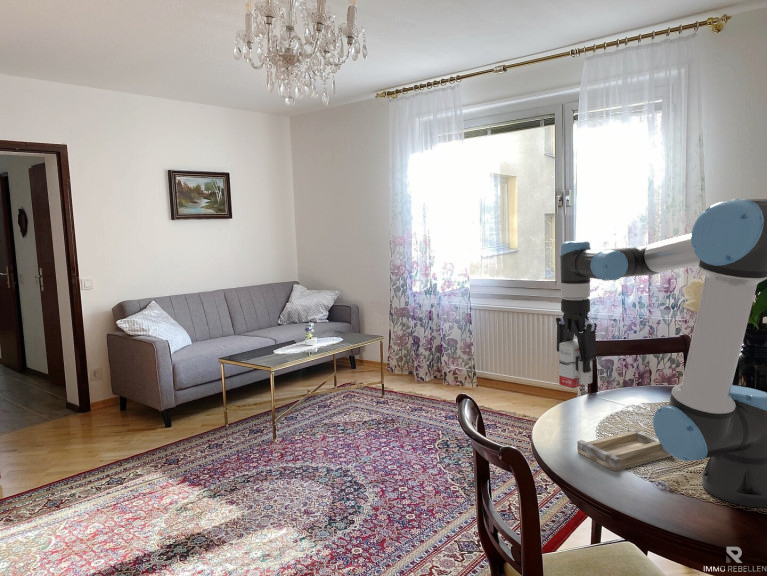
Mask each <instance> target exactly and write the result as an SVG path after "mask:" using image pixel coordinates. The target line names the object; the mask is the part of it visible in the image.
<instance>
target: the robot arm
mask: <svg viewBox="0 0 767 576" xmlns="http://www.w3.org/2000/svg"><path fill="white" fill-rule="evenodd" d="M590 244H591V243H590V242H589V241H587V240H573V241H564V242H562V243H561V245H560V255H559V258H560V296H561V297H562V298H561V300H560V312H562V313H563V314H562V316H558V317H557V316H556V317H555V322H556V352H558V353H559V344H560V343H562V342H567V341H571V340H575V339H574V338H575V337H576V339H577V340H578V345H579V350H580V355H581V359H580V360H579V384H581V385H582V384H586V385H588V384H587V383H589V372H590V361H591V360H592V361H593V360H596V359H597V336H596V335H597V334H596V332H597V329H598V327H597V326H598V324H597V322H591V321H590V320H589V315H588V314H589V313H590V312H591V299H590V296H591V279H594V280H602V281H606V282H607V281H618V280H620V279H621V278H629V277H637V276H638V277H642V276H654V275H658V274H661V273H663V272H668V271H673V270H679V269H685V268H689V267H695V266H698V268H699V269H700V271H702V273H703V275H704V277H705V278H704V281H703V287H702V291H701V294H700V299H699V304H698V308H697V313H696V318H695V322H694V327H693V331H692V336H691V340H690V345H689V350H688V353H687V359H686V363H685V368H684V371H683V377H682V381H681V383H679V384H676V385H675V386H674V387H672V388H671V392H670V393H671V394H670V398H669V402H668V404H664V405H662V406H661V407H659V408H657V409H656V410H655V412H654V415H653V417H652V418H653V419H652V425H653V430H654V434H655V436H656V438H657V439H659V442H660V444H661V445H662V446H663V448H664V449H665V450H666V451H667V452H668V453H669V454H670V455H672V456H671V457H673V458H675V459H677V460H679V461H683V462H691V461H692V462H694V461H702V460H706V459H708V460H707V462H706V465H705V467H704V469H703V471H702V476H701V478H702V479H701V485H702V487H703V488H704V490H705V491H707V492H708V493H709V494H710V495H712V496H714V497H716V498H717V499H720V500H722V501H726V502H728V503H732V504H734V505H739V506H745V507H751V508H767V392H766V391H762V390H761V389H760V390H759V389H756V388H751V387H745V386H739V385H734V384H733V381H734V377H735V375H736V374H735V373H736V369H737V367H738V362H739V358H740V353H741V350H742V346H743V342H744V339H745V335H746V330H747V326H748V322H749V319H750V315H751V311H752V306H753V303H754V298H755V295H756V290H757V287H758V284H759V283H762V282H764V281H766V280H767V198H752V199H751V198H749V199H748V198H747V199H745V198H744V199H743V198H741V199H740V198H736V199H730V200H726V201H724V200H723V201H720V202H719V201H718V202H717V203H714V204H711V206H708V207H707V208H706V209H704V210H703V211H702V212H701V213H700V214H699V216H698V217H697V218H696V220H695V222H694V224H693V226H692V228H691V233H688V234H685V235H681V236H678V237H677V236H676V237H672V238H668V239H665V240H661V241H657V242H654V243H649V244H646V245H645V244H644V245H641V246H636V247H633V246H632V247H622V248H607V249H606V248H605V249H591V245H590ZM585 355H586V356H585ZM589 384H590V383H589Z"/></svg>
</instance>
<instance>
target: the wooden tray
mask: <svg viewBox="0 0 767 576" xmlns="http://www.w3.org/2000/svg"><path fill="white" fill-rule="evenodd" d="M576 443H577V448H576V449H577V451H578V452H577V453H579V454H581V455H583V456H584V455H585V457H586V458H588V457H589V458H588V459H590V460H592V461H594V462H597V463H599V464H600V465H601V466H604V467H606V468H608V469H610V470H611V471H613V472H618V471H623V470H626V469H630V468H633V467H637V466H640V465H643V464H647V463H651V462H655V461H659V460H662V459H666V458H669V457H673V456H672V455H670V454H669V453H668V452H667V451H666V450H665V449H664V448H663V446H662V445H661V444H660V442H659V439H658V438H657V437H655V436H652V435H649V434H647V433H646V432H645V433H644V432H643V431H640V430H638V429H635V428H633V427H631V428H627V432H624V433H619V434H616V435H611V436H607V437H602V438H598V439H594V440H589V441H585V440H583V439H580V440H577V442H576Z"/></svg>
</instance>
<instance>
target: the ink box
mask: <svg viewBox="0 0 767 576" xmlns="http://www.w3.org/2000/svg"><path fill="white" fill-rule="evenodd" d="M558 353H559V354H558V355H559V360H558V361H559V362H558V363H559V367H558V368H559V369H558V370H559V371H558V372H559V373H558V374H559V380H558V381H559V383H558V385H560V386H564V387H568V388H572V389H575V388H578V387H582V386H586V385H589V384H592V383H593V360H591V361H590V372H589V383H587V384H582V385H581V384H579V360H580V359H581V355H580V350H579V345H578V340H577V338H575V339H573V340H571V341H567V342H562V343H560V344H559V352H558ZM585 356H586V355H585Z"/></svg>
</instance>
